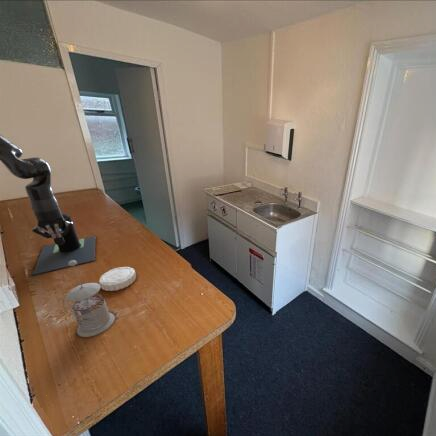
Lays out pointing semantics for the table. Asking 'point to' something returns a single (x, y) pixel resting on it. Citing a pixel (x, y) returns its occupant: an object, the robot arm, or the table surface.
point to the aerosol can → (69, 237)
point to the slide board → (64, 256)
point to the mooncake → (117, 278)
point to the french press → (86, 300)
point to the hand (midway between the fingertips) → (60, 244)
